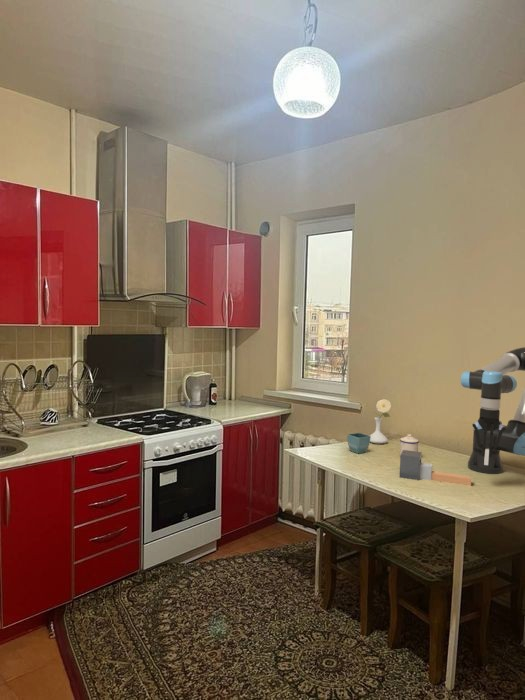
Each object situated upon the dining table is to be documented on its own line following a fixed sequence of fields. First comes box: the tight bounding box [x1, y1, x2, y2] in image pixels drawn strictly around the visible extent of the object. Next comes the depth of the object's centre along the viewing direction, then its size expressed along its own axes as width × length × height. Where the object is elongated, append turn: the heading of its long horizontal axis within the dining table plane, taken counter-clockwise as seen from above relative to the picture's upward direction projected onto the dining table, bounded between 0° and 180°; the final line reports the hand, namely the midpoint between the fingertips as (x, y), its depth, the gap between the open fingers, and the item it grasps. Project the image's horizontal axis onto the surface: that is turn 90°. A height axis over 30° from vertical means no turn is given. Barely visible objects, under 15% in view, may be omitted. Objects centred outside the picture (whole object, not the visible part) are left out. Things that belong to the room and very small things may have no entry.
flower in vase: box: [369, 398, 392, 444], centre depth 281 cm, size 13×11×25 cm
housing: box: [399, 450, 423, 481], centre depth 223 cm, size 8×10×10 cm
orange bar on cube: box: [419, 461, 472, 487], centre depth 218 cm, size 22×5×6 cm, turn 67°
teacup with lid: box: [399, 433, 420, 457], centre depth 254 cm, size 12×9×12 cm
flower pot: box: [346, 432, 371, 454], centre depth 260 cm, size 9×9×9 cm
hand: (486, 464), depth 211 cm, fingers closed
